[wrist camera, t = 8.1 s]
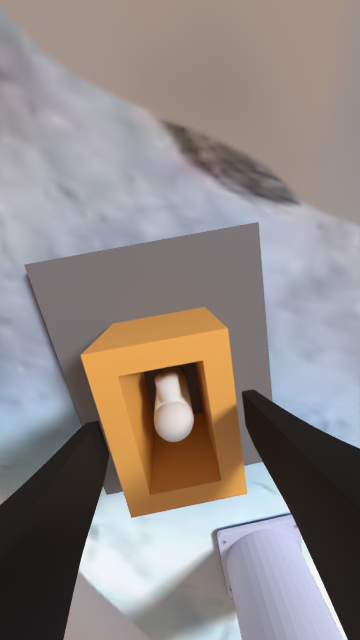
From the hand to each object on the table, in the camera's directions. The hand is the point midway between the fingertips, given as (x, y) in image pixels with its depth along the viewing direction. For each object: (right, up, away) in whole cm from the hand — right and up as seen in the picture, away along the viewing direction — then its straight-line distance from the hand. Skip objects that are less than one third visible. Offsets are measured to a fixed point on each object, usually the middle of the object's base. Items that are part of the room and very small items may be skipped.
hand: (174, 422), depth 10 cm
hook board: (0, +1, +5) cm, 5 cm away
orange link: (0, +1, +4) cm, 4 cm away
